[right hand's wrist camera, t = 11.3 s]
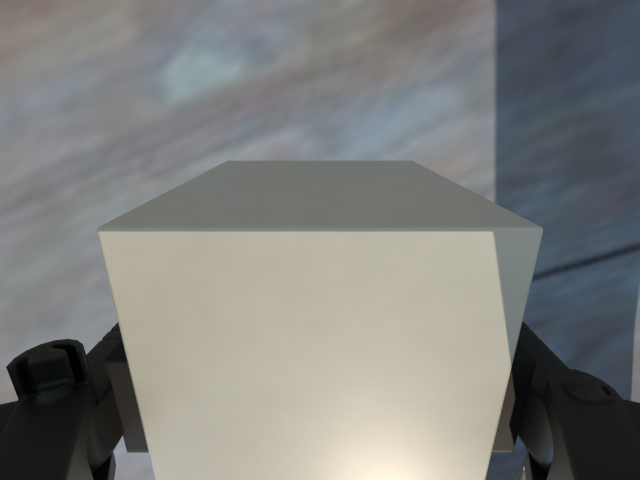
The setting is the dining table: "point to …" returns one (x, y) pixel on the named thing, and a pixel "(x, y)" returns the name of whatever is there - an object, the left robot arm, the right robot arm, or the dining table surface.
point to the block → (320, 321)
